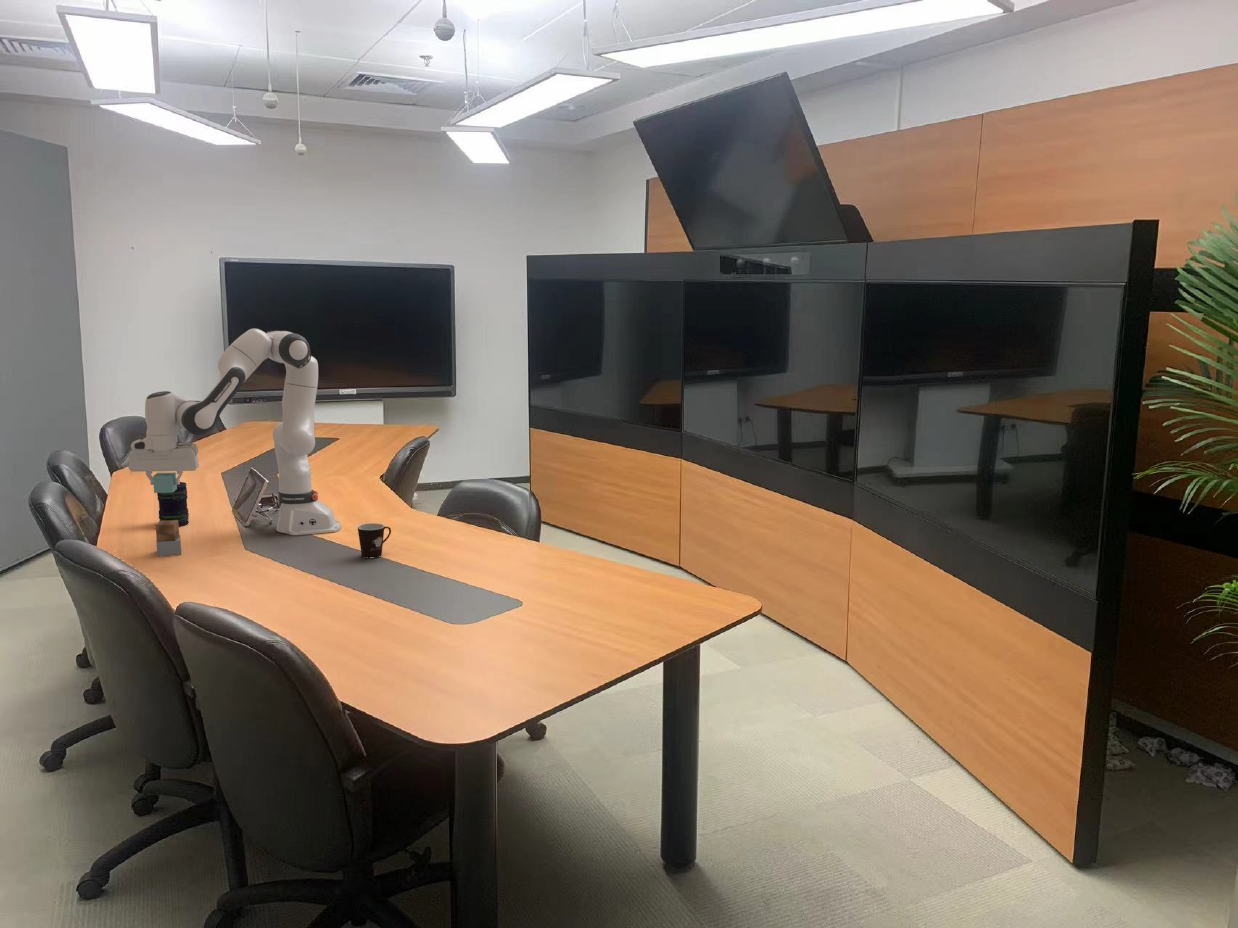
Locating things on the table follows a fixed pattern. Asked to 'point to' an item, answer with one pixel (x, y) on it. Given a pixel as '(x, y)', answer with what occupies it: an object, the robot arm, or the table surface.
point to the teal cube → (164, 482)
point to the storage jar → (174, 505)
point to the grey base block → (169, 547)
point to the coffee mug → (372, 539)
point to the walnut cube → (167, 530)
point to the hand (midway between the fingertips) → (165, 484)
